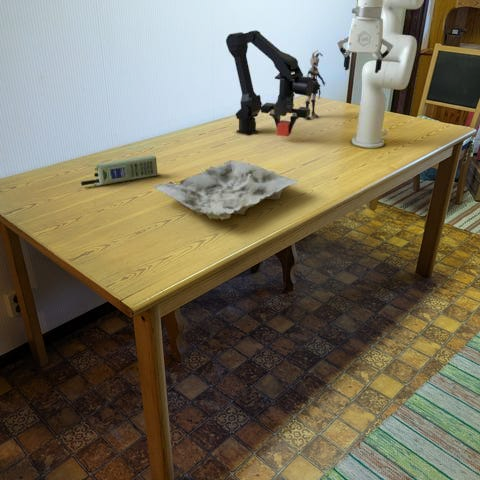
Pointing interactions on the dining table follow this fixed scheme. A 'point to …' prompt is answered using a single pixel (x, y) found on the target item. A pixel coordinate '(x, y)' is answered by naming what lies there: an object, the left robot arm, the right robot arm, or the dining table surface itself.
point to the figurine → (314, 82)
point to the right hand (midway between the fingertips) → (361, 70)
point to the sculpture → (227, 189)
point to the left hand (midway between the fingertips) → (284, 131)
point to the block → (283, 128)
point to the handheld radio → (124, 170)
